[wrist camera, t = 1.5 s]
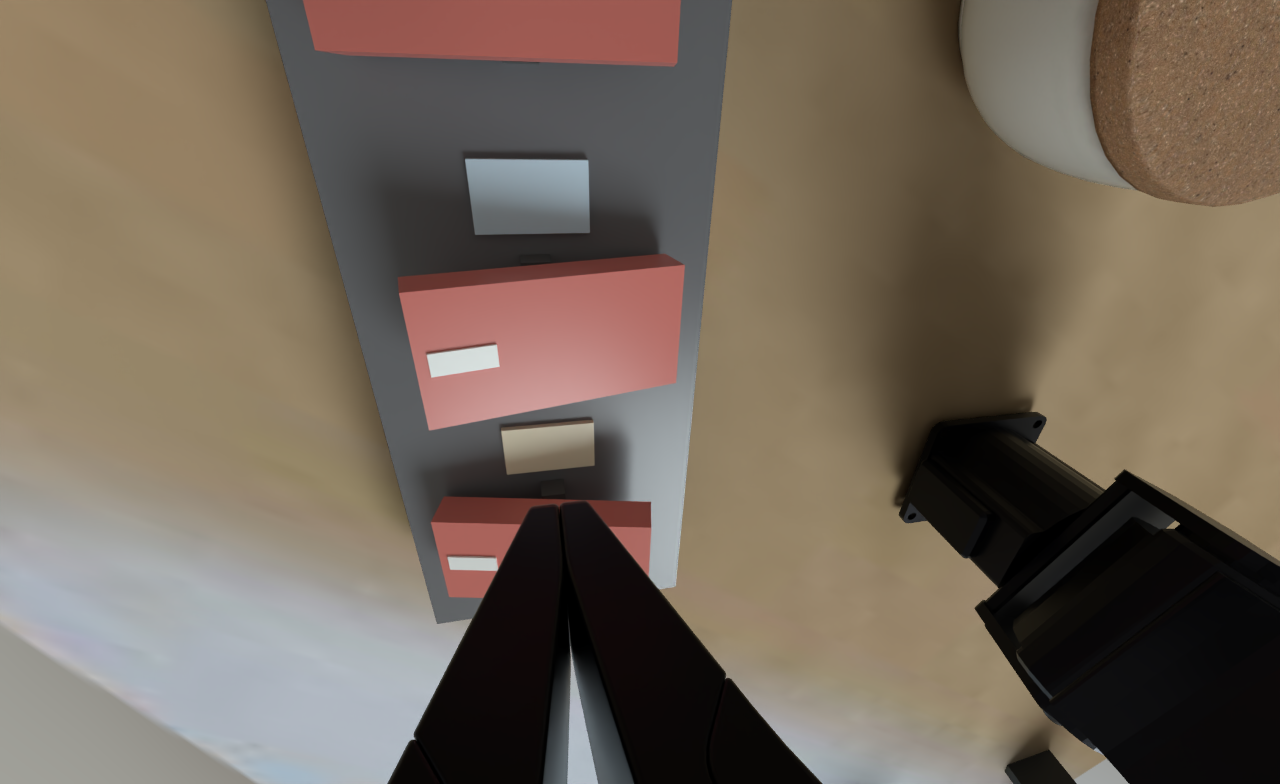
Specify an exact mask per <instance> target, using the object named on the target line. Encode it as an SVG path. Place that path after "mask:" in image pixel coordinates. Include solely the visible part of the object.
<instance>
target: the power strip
mask: <svg viewBox="0 0 1280 784" xmlns="http://www.w3.org/2000/svg"><path fill="white" fill-rule="evenodd" d="M266 3H267V6H268V10H269V14H270V17H271V21H272V25H273V28H274V32H275V36H276V39H277V43H278V46H279V50H280V54H281V57H282V61H283V65H284V68H285V72H286V76H287V79H288V83H289V87H290V90H291V94H292V97H293V101H294V105H295V108H296V112H297V116H298V119H299V123H300V127H301V130H302V134H303V138H304V141H305V145H306V148H307V152H308V156H309V159H310V163H311V167H312V170H313V174H314V178H315V181H316V185H317V188H318V192H319V196H320V199H321V203H322V207H323V210H324V214H325V218H326V221H327V225H328V229H329V232H330V236H331V239H332V243H333V247H334V250H335V254H336V258H337V261H338V265H339V269H340V272H341V276H342V280H343V283H344V287H345V290H346V294H347V298H348V301H349V305H350V309H351V312H352V316H353V320H354V323H355V327H356V330H357V334H358V338H359V341H360V345H361V349H362V352H363V356H364V360H365V363H366V367H367V371H368V374H369V378H370V381H371V385H372V389H373V392H374V396H375V400H376V403H377V407H378V411H379V414H380V418H381V422H382V425H383V429H384V432H385V436H386V440H387V443H388V447H389V451H390V454H391V458H392V462H393V465H394V469H395V472H396V476H397V480H398V483H399V487H400V491H401V494H402V498H403V502H404V505H405V509H406V513H407V516H408V520H409V523H410V527H411V531H412V534H413V538H414V542H415V545H416V549H417V553H418V556H419V560H420V564H421V567H422V571H423V574H424V578H425V582H426V585H427V589H428V593H429V596H430V600H431V604H432V607H433V611H434V614H435V618H436V622H437V624H440V623H446V622H453V621H459V620H465V619H472V618H473V617H474V615H475V613H476V611H477V609H478V607H479V605H480V603H481V601H482V599H483V598H465V597H449V594H448V590H447V586H446V582H445V578H444V574H443V570H442V566H441V562H440V558H439V554H438V549H437V545H436V541H435V537H434V533H433V529H432V525H431V521H432V519H433V517H434V515H435V513H436V511H437V509H438V507H439V505H440V503H441V501H442V499H443V497H444V496H446V497H485V498H524V499H564V500H603V501H642V502H651V544H650V562H649V578H650V579H651V580H652V582H653V583H654V584H655V585H656V587H657V588H658V589H664V588H670V587H675V586H676V576H677V566H678V555H679V545H680V535H681V524H682V514H683V504H684V493H685V483H686V472H687V462H688V452H689V441H690V431H691V421H692V410H693V400H694V390H695V379H696V369H697V359H698V348H699V338H700V327H701V317H702V307H703V296H704V286H705V276H706V265H707V255H708V245H709V234H710V224H711V214H712V203H713V193H714V182H715V172H716V162H717V151H718V141H719V131H720V120H721V110H722V100H723V89H724V79H725V69H726V58H727V48H728V37H729V27H730V17H731V6H732V0H681V5H680V23H679V41H678V59H677V64H676V65H675V66H674V67H669V66H640V65H611V64H582V63H553V62H524V61H495V60H466V59H437V58H408V57H379V56H350V55H341V54H335V53H329V52H322V51H316V50H315V48H314V44H313V40H312V35H311V31H310V27H309V23H308V19H307V15H306V11H305V7H304V3H303V0H266ZM655 254H667V255H668V256H670V257H672V258H674V259H675V260H677V261H679V262H681V263H682V264H684V265H685V270H684V284H683V297H682V311H681V324H680V337H679V351H678V364H677V377H676V383H673V384H668V385H663V386H658V387H653V388H647V389H642V390H637V391H632V392H627V393H622V394H616V395H611V396H606V397H601V398H596V399H591V400H585V401H580V402H575V403H570V404H565V405H560V406H554V407H549V408H544V409H539V410H534V411H528V412H523V413H518V414H513V415H508V416H503V417H497V418H492V419H487V420H482V421H477V422H472V423H466V424H461V425H456V426H451V427H446V428H441V429H435V430H430V431H429V428H428V423H427V419H426V414H425V410H424V405H423V401H422V396H421V391H420V387H419V382H418V378H417V373H416V369H415V364H414V360H413V355H412V351H411V346H410V341H409V337H408V332H407V328H406V323H405V319H404V314H403V310H402V305H401V301H400V296H399V288H398V277H403V276H415V275H426V274H438V273H449V272H460V271H472V270H483V269H495V268H506V267H518V266H529V265H540V264H552V263H563V262H575V261H586V260H597V259H609V258H620V257H632V256H643V255H655ZM569 637H570V633H569ZM570 646H571V643H570Z"/></svg>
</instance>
